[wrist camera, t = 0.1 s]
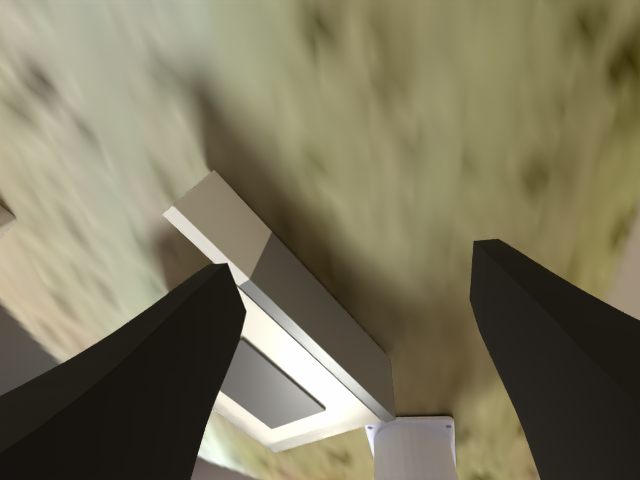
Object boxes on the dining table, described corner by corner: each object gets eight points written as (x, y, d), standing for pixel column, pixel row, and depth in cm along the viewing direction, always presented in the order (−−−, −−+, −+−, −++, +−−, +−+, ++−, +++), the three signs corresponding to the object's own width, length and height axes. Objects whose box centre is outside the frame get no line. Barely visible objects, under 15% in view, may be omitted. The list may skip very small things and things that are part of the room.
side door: (381, 362, 26) (385, 422, 22) (205, 177, 19) (162, 214, 15) (390, 359, 25) (396, 419, 21) (214, 169, 19) (172, 205, 15)
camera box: (286, 395, 30) (274, 455, 26) (170, 299, 25) (129, 353, 21) (378, 359, 26) (381, 424, 22) (261, 236, 21) (234, 288, 17)
